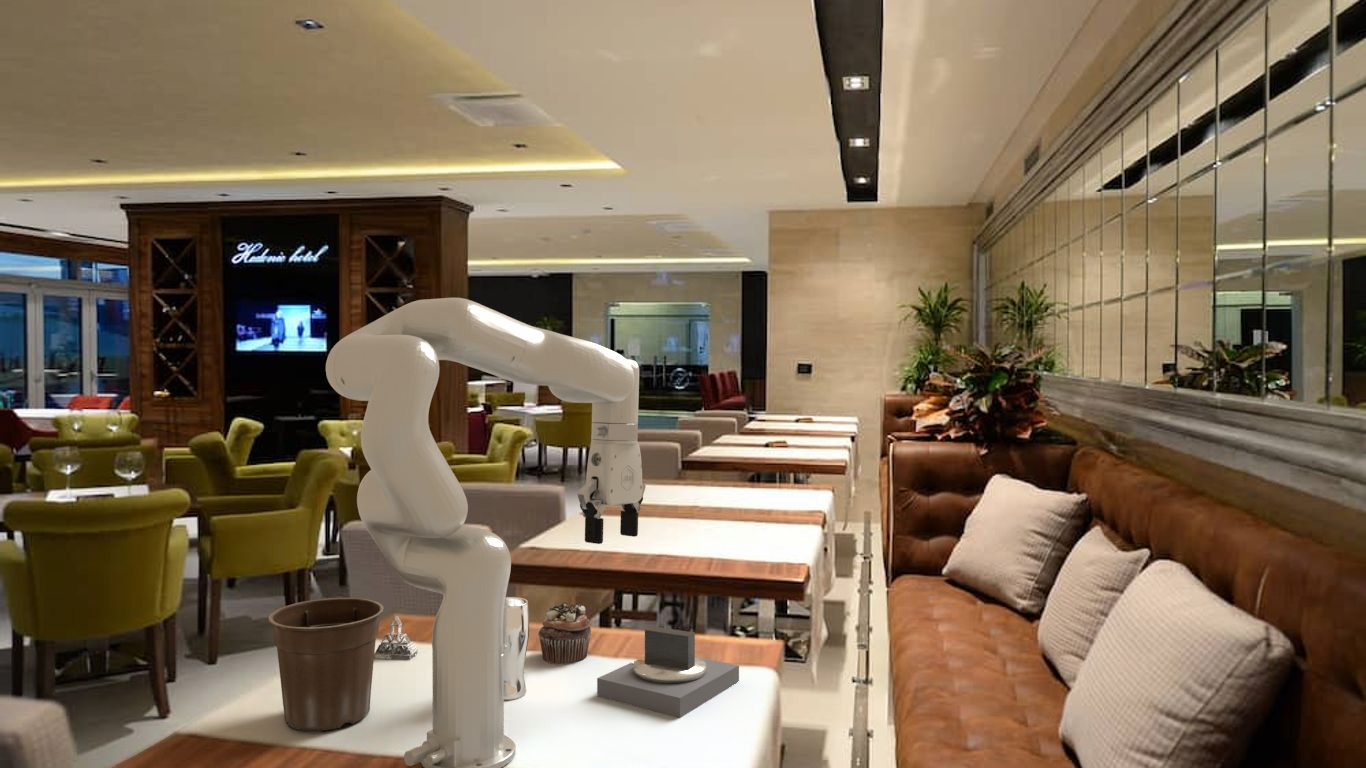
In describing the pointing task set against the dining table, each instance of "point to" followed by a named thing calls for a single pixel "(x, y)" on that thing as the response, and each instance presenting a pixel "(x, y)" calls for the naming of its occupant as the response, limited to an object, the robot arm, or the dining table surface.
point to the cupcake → (565, 634)
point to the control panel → (667, 688)
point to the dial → (669, 657)
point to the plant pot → (326, 660)
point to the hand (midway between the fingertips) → (611, 539)
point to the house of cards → (396, 645)
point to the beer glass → (515, 646)
